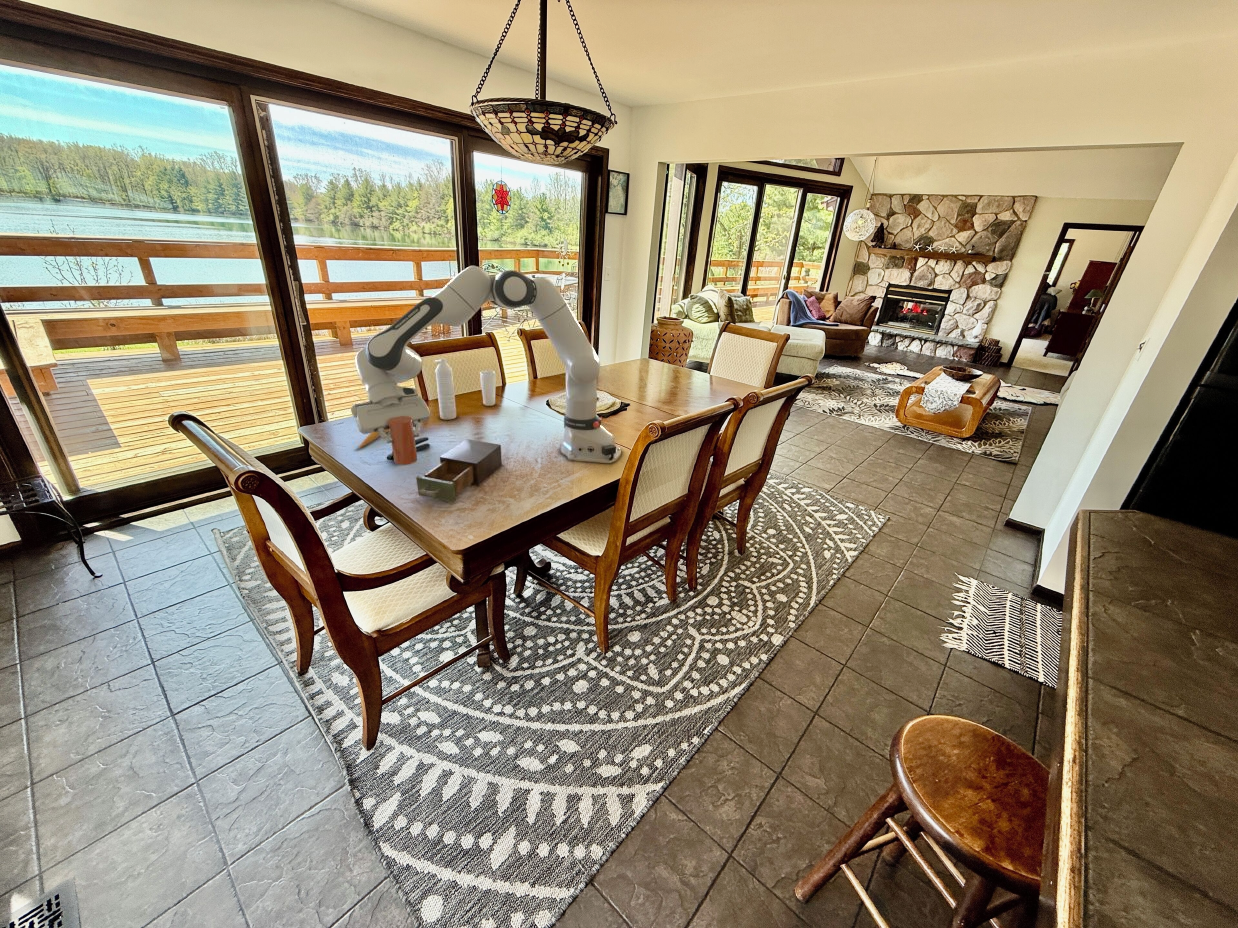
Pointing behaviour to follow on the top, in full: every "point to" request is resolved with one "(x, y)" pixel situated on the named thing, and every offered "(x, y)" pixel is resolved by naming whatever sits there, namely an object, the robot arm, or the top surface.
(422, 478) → the drawer
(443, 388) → the water bottle
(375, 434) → the carrot
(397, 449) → the terracotta cylinder
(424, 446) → the can opener
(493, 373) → the drinking glass
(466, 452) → the cabinet
